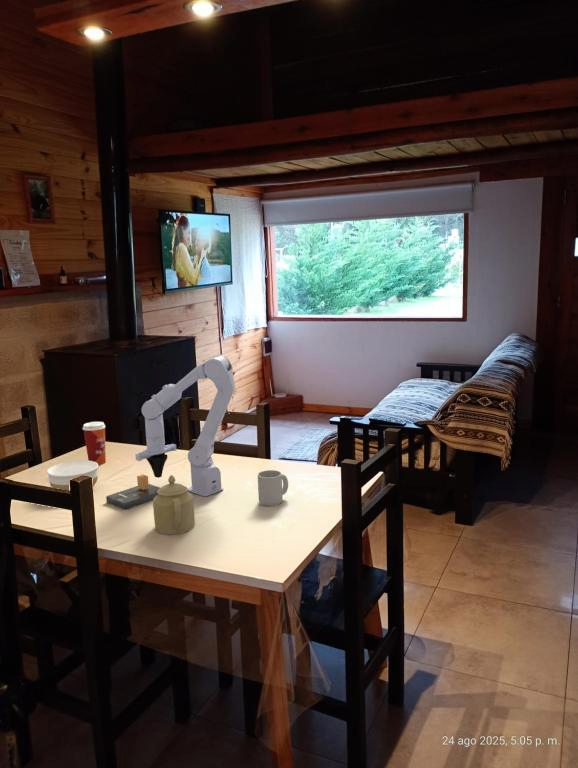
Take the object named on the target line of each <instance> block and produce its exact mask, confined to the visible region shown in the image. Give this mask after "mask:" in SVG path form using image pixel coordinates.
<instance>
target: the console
mask: <svg viewBox="0 0 578 768" xmlns="http://www.w3.org/2000/svg"><path fill="white" fill-rule="evenodd" d="M148 484H149V488H148V489H145V490H142V489H139V488H138V485H137V486H133V487H130V488H127V489H124V490H121V491H118V492H115V493H111V494H109V495H106V496H105V499H106V503H107V504H108V505H109V504H110V505H113V506H114V507H117V508H119V509H122V510H125V511H126V510H128V509H131V508H134V507H137V506H140V505H143V504H145V503H148V502H149V503H150V502H151V501H153V499H154V498H155V497H156V496H158V493H157V490H158V489H160V488H161V487H159V486H157V485H153V484H151V483H148Z"/></svg>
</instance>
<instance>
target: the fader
mask: <svg viewBox="0 0 578 768" xmlns="http://www.w3.org/2000/svg"><path fill="white" fill-rule="evenodd" d="M136 481H137V482H136V483H137V486H138V488H139V489H142V490H145V489H148V488H149V484H150V483H149V476H148V475H145V474H140V475H136Z"/></svg>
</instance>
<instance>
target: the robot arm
mask: <svg viewBox="0 0 578 768" xmlns="http://www.w3.org/2000/svg"><path fill="white" fill-rule="evenodd" d="M233 368H234V367H233V364H232V363H231V361H230V359H228V357H227V356H226V355H223V354H217V355H215V356H213V357H212V358H210V359H207V360H206V361H204V362H203V363H200V364H199V365H198V366H195V368H193V369H192V370H191V371H189V372H188V374H186V375H185V376H184V377H183V378H182V379H180V380H178V382H177V383H176V384H174V383H169V384H165V385H163V386H162V387H161V388H162V389H161V390H160V391H159V392H158V393H156V394H154V393H153V395H151V397H150V398H151V399H149V400H146V401H145V402H144V403H143V404H142V407H141V414H142V416H143V417H144V424H145V425H144V426H145V437H146V438H145V440H146V449H144V450H142V451H141V452H138V453H136V454H135V461H137V462H142V461H143V460H145V459H146V460H147V462H148V464H149V466H150V467H151V469H152V472H153V475H154V477H155V478H157V479H159V478H161V477H163V470H164V466H165V464H166V462H167V459H168V454H166V453H169V452H175V451H177V444H175V443H171V444H166V441H165V427H164V426H165V424H164V417H163V416H164V415H163V413H164V412H165V411H166V410H168V409H169V408H171V407H172V406H173V405H174V404H176V403H177V402H178V401H179V400H180V399H182V393H183V391H185V390H186V389H188V388H189V387H190V386H192V385H194V383H196V382H197V381H199V380H206V379H207V378H208V379H209V380H210V381H211V382H212V383H213V384H214V386H215V388H216V389H217V392H216V394H215V397H214V399H213V402H212V404H211V406H210V409H209V412H208V414H207V417H206V419H205V422H204V425H203V427H202V428H201V429H202V430H201V431H200V435H199V436H198V438H197V439H196V441H195V443H194V446H193V447H192V448H191V449H190V450H188V453H187V459H188V461H189V463H190V480H191V487H187V488H188V490H187V492H189V493H193V494H196V495H199V496H202V497H208V496H210V495H213V494H215V493H219V492H221V491H223V490H224V488H223V487H222V478H221V477H222V476H221V474H222V473H221V469H220V468H218V467H217V466H215V463H214V459H213V458H212V455H213V454H214V450H215V449H214V448H215V447H214V445H215V443H216V442H215V441H216V437H217V434H218V432H219V430H220V429H219V428H220V427H221V424H222V422H223V419H224V417H225V415H226V412H227V410H228V407H229V404H230V402H231V399H232V397H233V394H234V393H235V389H236V385H235V379H234V372H233ZM165 444H166V445H165Z"/></svg>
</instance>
